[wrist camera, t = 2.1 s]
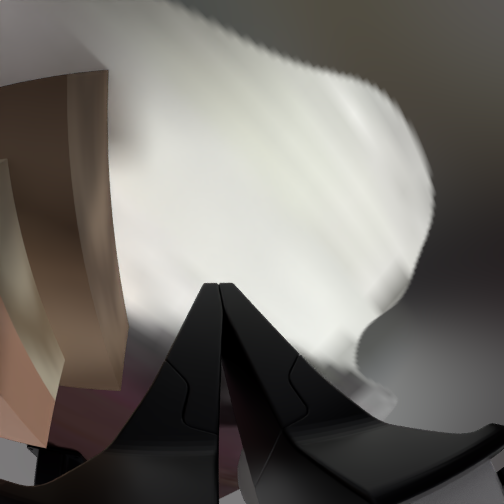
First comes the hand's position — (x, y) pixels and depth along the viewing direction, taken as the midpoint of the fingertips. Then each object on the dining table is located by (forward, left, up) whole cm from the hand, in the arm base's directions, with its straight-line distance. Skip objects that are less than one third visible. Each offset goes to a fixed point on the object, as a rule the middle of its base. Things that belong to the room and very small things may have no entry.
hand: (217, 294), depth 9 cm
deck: (0, +11, -5) cm, 12 cm away
